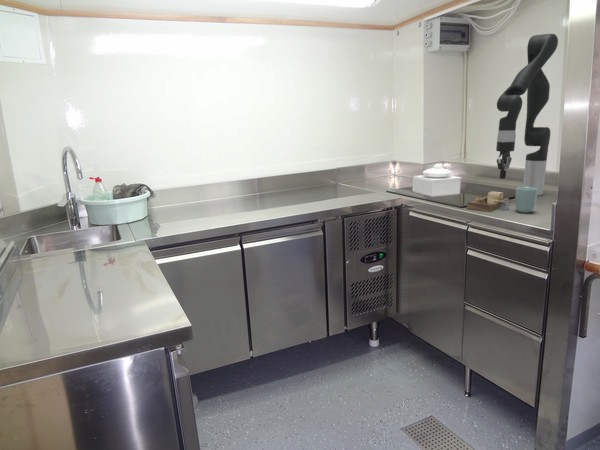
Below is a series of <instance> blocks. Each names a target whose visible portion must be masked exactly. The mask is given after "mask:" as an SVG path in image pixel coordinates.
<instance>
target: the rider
mask: <svg viewBox="0 0 600 450" xmlns="http://www.w3.org/2000/svg"><path fill="white" fill-rule="evenodd" d="M487 196H488V198H487V203H486V204H492V203H494V201H495V200H496V201H500V200H502V199H504V192H502V191H489V192H487Z"/></svg>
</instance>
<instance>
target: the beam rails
mask: <svg viewBox="0 0 600 450" xmlns="http://www.w3.org/2000/svg"><path fill="white" fill-rule="evenodd" d="M487 198H488V195H487V196H483V197H481V198H474V199H473V200H472V201H467V202H466V203H467V204H466V210H472V211H478V212H479V211H480V212H488V213H491V212H494V211H495V210H498V206H499V204H500V201H510V200H509V199H510V198H505V197H504V198H503V199H502V200H500V201H496V200H495V201H494V203H492V204H487Z"/></svg>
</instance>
